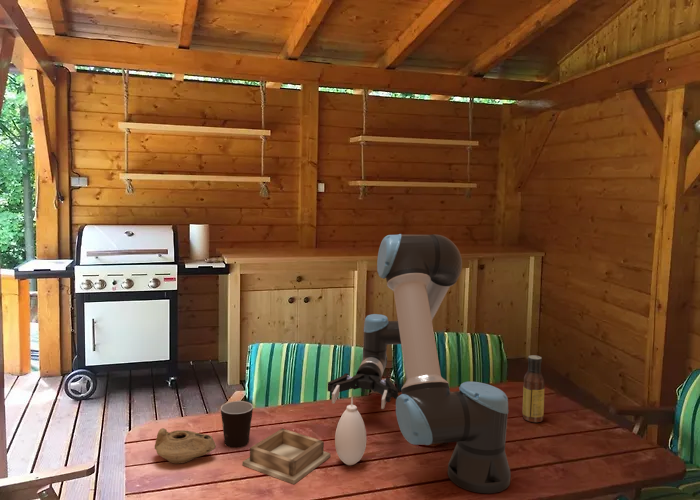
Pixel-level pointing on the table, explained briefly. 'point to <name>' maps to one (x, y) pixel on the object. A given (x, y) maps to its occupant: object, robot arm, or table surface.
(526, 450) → the table surface
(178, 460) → the oil lamp
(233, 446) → the coffee mug
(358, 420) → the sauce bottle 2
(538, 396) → the sauce bottle
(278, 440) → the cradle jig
